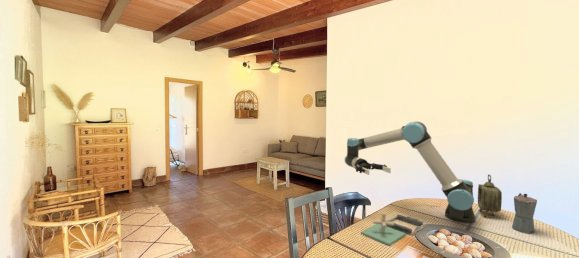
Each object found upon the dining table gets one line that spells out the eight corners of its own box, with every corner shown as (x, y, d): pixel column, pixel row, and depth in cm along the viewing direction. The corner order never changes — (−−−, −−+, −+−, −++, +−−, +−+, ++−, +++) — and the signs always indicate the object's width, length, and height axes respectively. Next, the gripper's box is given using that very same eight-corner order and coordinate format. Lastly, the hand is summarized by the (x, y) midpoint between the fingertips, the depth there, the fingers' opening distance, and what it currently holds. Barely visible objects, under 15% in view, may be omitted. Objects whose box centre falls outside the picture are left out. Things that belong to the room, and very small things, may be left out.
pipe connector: (394, 238, 128) (395, 218, 127) (373, 235, 130) (374, 215, 130) (391, 229, 137) (392, 211, 137) (372, 227, 140) (373, 209, 139)
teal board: (377, 225, 145) (377, 223, 145) (405, 235, 133) (405, 233, 133) (360, 234, 135) (360, 231, 135) (389, 246, 122) (389, 243, 122)
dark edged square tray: (398, 216, 157) (399, 212, 157) (427, 225, 144) (427, 221, 144) (382, 225, 145) (382, 220, 145) (412, 235, 132) (412, 231, 132)
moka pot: (518, 234, 133) (520, 196, 132) (505, 222, 147) (506, 188, 146) (541, 237, 130) (544, 198, 128) (526, 224, 144) (528, 189, 143)
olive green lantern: (477, 209, 166) (478, 171, 165) (494, 212, 162) (496, 172, 161) (481, 218, 154) (483, 176, 152) (501, 220, 149) (503, 178, 148)
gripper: (377, 168, 169) (398, 176, 149) (342, 171, 163) (359, 179, 142) (377, 157, 169) (398, 163, 148) (342, 159, 162) (359, 166, 142)
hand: (379, 171), depth 145 cm, fingers open, 13 cm apart
